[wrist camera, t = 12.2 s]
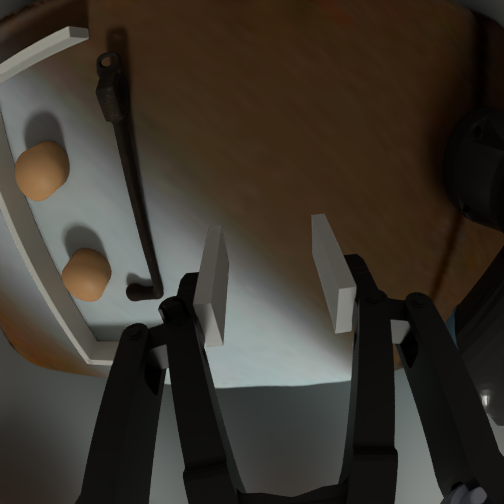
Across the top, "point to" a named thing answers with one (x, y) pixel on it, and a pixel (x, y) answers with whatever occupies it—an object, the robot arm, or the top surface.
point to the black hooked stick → (127, 163)
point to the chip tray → (22, 222)
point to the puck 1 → (42, 170)
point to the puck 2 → (86, 274)
